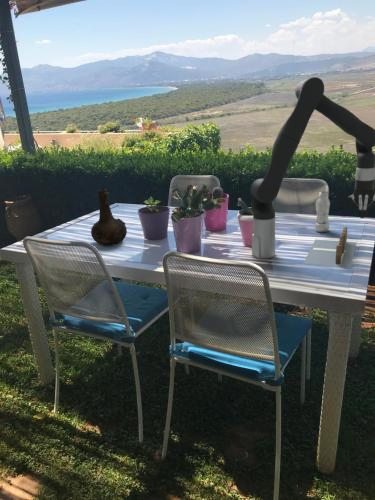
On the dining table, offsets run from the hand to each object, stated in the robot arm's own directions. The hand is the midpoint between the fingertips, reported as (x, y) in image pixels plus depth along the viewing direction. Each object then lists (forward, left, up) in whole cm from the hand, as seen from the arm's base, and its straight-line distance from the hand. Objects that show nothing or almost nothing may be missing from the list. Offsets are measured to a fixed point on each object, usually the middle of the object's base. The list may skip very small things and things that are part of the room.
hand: (362, 217), depth 180 cm
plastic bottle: (-3, +24, -13) cm, 28 cm away
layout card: (-17, -2, -13) cm, 21 cm away
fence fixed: (-18, -9, -12) cm, 24 cm away
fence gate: (-8, +1, -12) cm, 15 cm away
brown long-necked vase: (-102, +64, -13) cm, 121 cm away
